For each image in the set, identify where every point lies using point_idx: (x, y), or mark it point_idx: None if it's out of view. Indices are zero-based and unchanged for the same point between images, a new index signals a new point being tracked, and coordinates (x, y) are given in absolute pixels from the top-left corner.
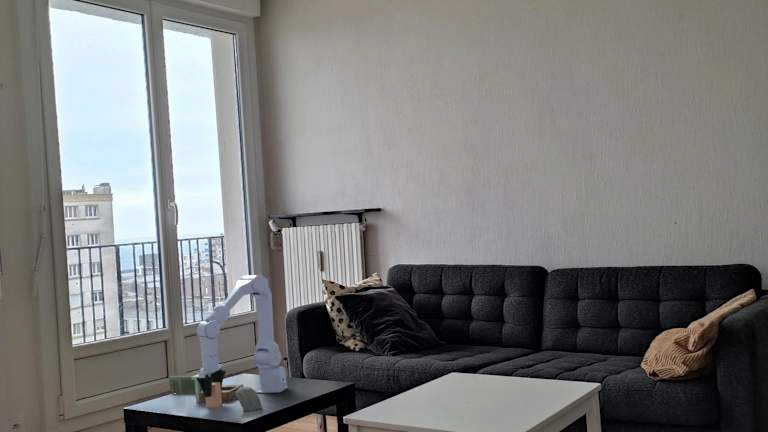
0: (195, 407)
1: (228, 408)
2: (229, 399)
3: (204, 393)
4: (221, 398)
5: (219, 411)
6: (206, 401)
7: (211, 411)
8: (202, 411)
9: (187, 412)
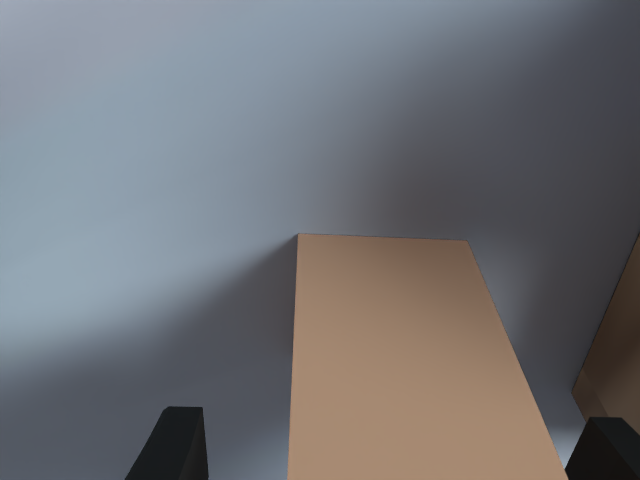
0: (371, 16)
1: (246, 471)
2: (586, 416)
3: (137, 473)
4: (630, 346)
5: (117, 438)
6: (295, 304)
7: (110, 364)
8: (100, 259)
9: (7, 30)
